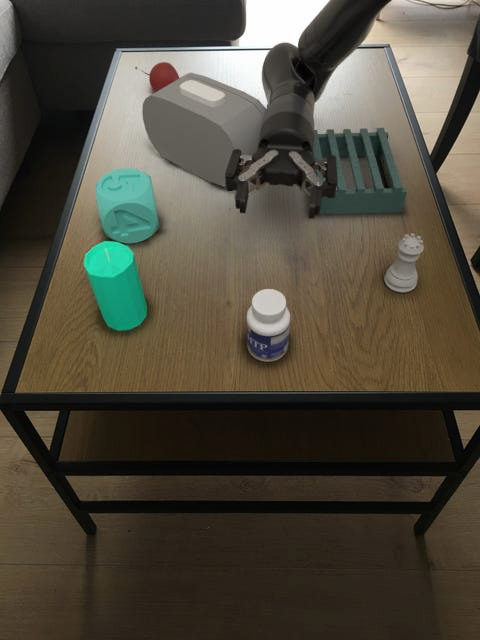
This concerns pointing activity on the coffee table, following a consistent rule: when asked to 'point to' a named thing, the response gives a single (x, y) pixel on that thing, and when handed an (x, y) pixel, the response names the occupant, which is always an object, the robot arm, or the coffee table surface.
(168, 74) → the fruit
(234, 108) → the alarm clock
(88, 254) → the candle
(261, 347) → the pill bottle
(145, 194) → the decorative dice
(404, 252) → the rook chess piece
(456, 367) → the coffee table surface
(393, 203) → the rack
